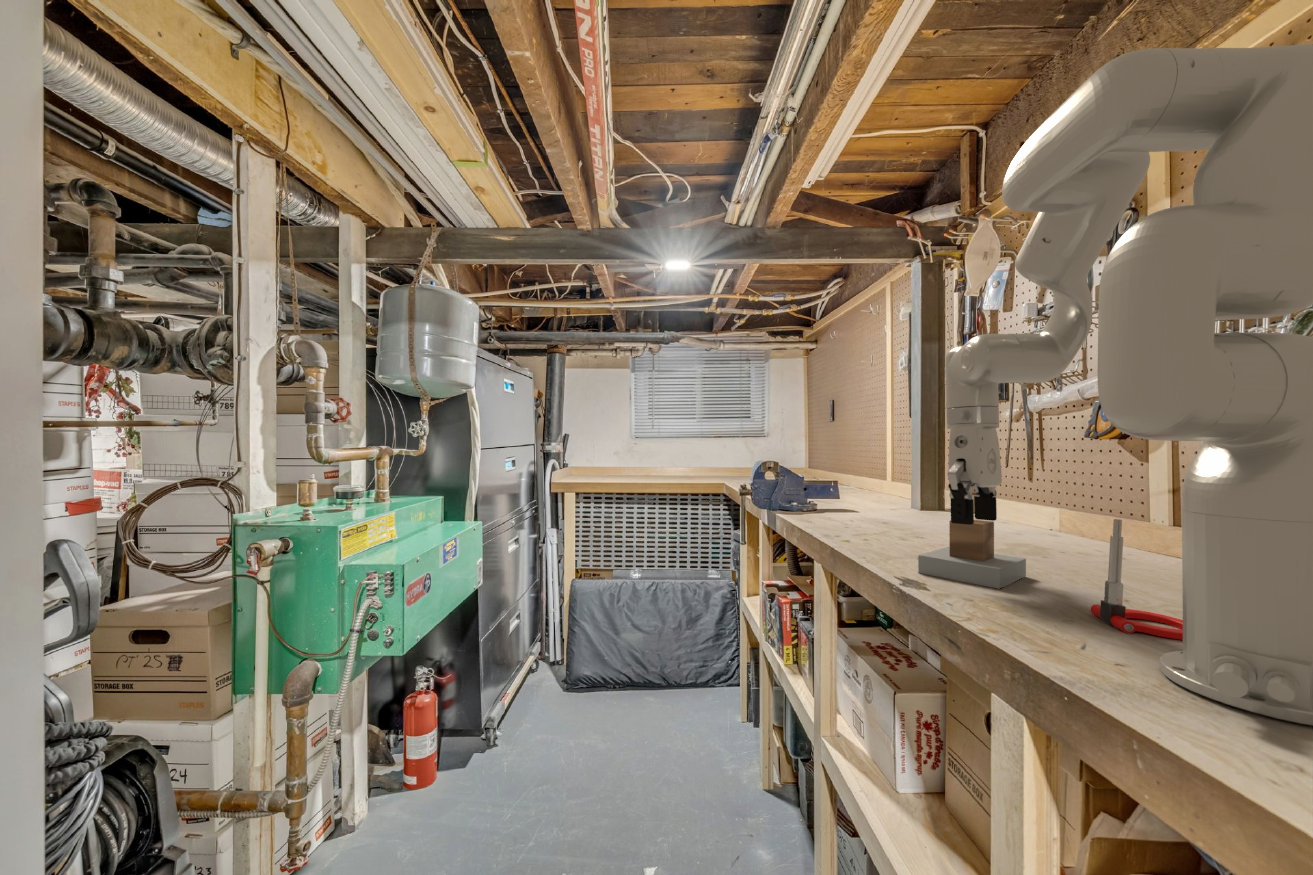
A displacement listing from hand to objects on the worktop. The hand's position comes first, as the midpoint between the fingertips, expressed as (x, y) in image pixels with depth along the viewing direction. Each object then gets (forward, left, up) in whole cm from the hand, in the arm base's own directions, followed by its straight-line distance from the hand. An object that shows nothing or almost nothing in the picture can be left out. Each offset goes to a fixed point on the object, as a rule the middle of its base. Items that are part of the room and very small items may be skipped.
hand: (974, 521), depth 85 cm
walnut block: (0, +1, -6) cm, 6 cm away
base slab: (0, +1, -9) cm, 9 cm away
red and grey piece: (-9, -22, -9) cm, 26 cm away
